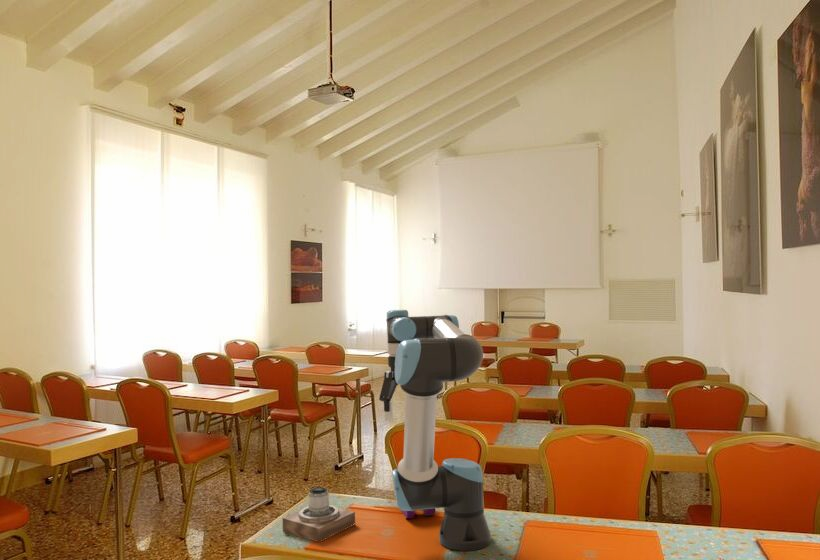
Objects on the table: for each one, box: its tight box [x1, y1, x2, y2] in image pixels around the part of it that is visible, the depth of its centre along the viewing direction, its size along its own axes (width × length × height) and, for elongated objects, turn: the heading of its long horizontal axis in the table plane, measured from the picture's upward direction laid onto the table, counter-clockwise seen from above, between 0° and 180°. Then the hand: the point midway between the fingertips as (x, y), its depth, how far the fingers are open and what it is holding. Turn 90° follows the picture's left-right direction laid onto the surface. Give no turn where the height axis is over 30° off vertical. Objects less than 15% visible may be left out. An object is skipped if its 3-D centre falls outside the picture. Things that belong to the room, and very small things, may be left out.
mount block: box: [282, 503, 356, 542], centre depth 199 cm, size 16×16×5 cm
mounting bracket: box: [401, 508, 436, 519], centre depth 211 cm, size 9×8×18 cm
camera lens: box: [308, 486, 330, 517], centre depth 199 cm, size 6×6×8 cm
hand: (400, 417), depth 215 cm, fingers open, 13 cm apart
